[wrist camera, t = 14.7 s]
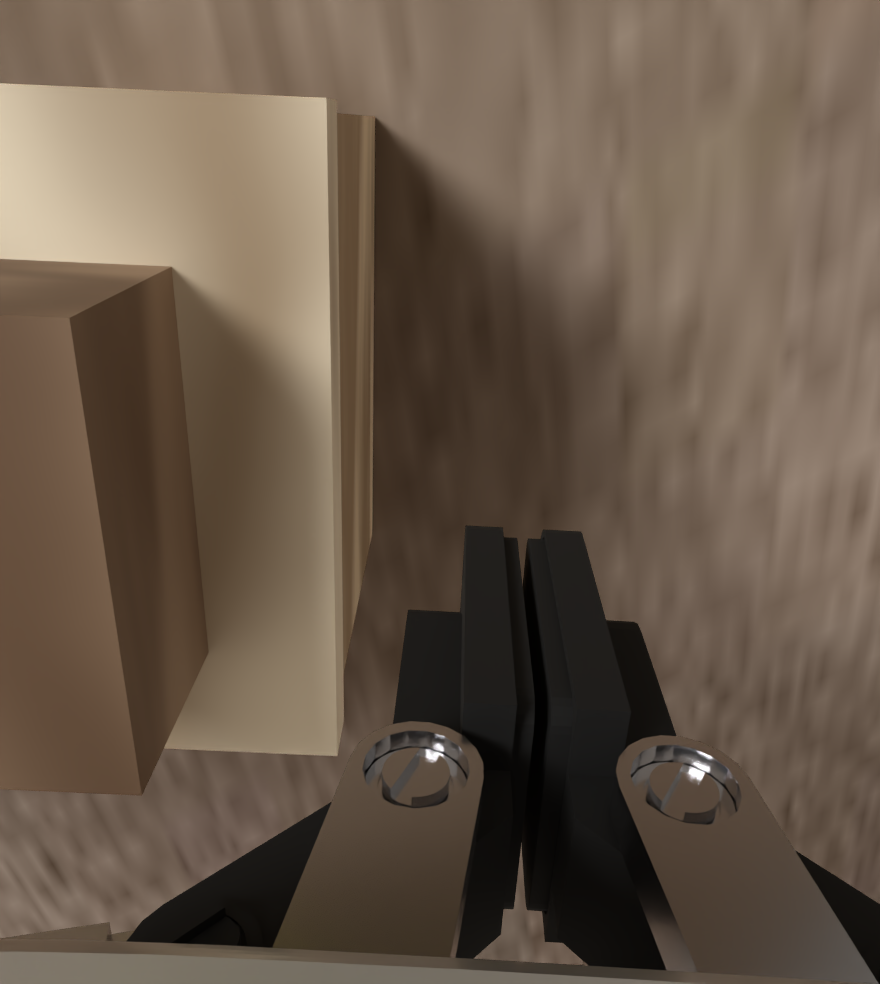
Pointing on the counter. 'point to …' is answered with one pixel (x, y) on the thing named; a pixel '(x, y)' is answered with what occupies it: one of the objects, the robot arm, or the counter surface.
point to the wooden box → (355, 351)
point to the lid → (167, 431)
